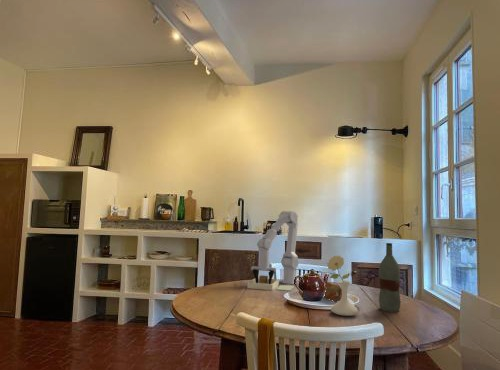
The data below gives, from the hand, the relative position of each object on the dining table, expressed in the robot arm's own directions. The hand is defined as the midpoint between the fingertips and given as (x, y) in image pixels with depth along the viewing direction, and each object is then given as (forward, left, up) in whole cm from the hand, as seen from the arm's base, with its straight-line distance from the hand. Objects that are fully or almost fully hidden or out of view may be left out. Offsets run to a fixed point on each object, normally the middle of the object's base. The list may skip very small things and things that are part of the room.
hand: (263, 283), depth 212 cm
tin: (+18, +40, -2) cm, 44 cm away
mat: (0, +13, -2) cm, 13 cm away
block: (0, 0, -2) cm, 2 cm away
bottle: (+27, +67, -2) cm, 72 cm away
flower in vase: (+43, +47, -2) cm, 64 cm away
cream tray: (0, 0, -2) cm, 2 cm away
